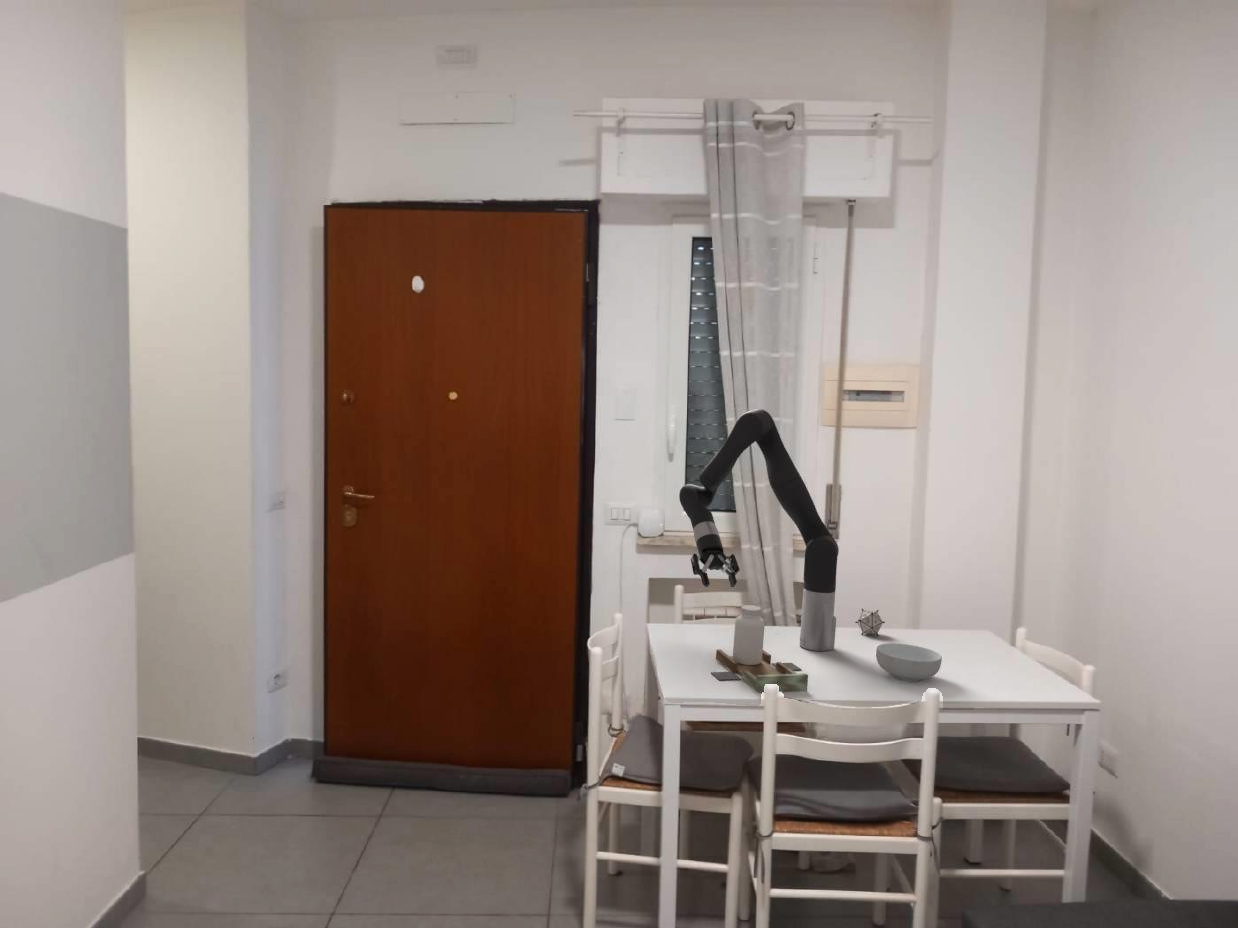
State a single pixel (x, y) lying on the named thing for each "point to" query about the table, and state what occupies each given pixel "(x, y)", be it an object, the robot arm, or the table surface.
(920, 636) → the table surface
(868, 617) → the spiked polyhedron ball
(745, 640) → the pill bottle
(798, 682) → the lane
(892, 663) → the cereal bowl
